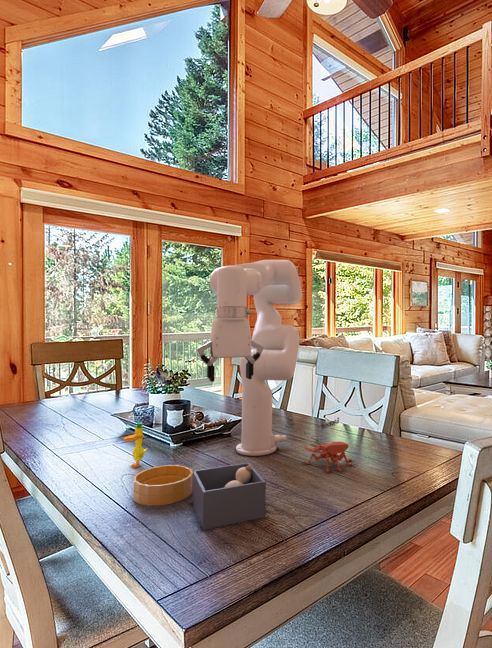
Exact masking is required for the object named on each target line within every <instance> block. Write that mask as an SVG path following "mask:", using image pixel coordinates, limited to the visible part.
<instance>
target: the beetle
mask: <svg viewBox="0 0 492 648" xmlns="http://www.w3.org/2000/svg"><path fill="white" fill-rule="evenodd" d="M339 423H340V417H336V419H335V420H332V421H330V422H325V423H323V424H322V423H321V424H320V427H321V430H324V429H327V428H329V427H332V426H334V425H337V424H339ZM309 446H312V447H313V448H310V447H308V446H306V445H303V448H304V449H305V451H307V452H312V453H311V456H310V459H309V461H308V462H307V460H305V461H304V462H303V463H304V465H310V463H311V461H312V460H313V458H314V459H315V461H320V460H321V459H324V458H325V464H326V469H325V473H330V469H329V465H330V461H331V462H332V464H336V468H337V471H339V472H343V468H340V465H339V464H340V463H339V461H340V462H341V461H342V460H343V459H344V461H345V463H346V465H347V466H351V467H353V465H354V464H353V462H352V461H353V460H352V458H351V457H349V458H347V455H346V451H347V450H348V449H349V447H350V445H349V443H346V442H345V441H332V442H330V443H322V444H319V445H316V444H312V443H309ZM316 453H318V454H319V455H318V456H317V454H316ZM349 462H351V463H349Z"/></svg>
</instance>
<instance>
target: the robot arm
mask: <svg viewBox="0 0 492 648" xmlns="http://www.w3.org/2000/svg"><path fill="white" fill-rule="evenodd" d="M300 280H301V279H300V276H299V273H298V270H297V267H296V265H295V264H294V263H293V262H292V261H291V260H289V259H261V260H257V261H253V262H245V263H240V264H231V265H223V266H220V267H216V268H215V269H214V270H213V271H212V272H211V274H210V277H209V285H210V289H211V290H212V292H213V293H214V294H215V295H216V318H213V319H212V324H211V328H210V329H211V330H210V337H209V338H210V339H209V341H208V342H206V343H203V344H202V345H200V346H198V347H197V348H196V349H195V350H196V352H197V354H198V356H199V359H201V361H202V362H204V363H205V365H206V378H207V379H208V380H209V382H212V383H213V382H214V381H215V365H214V363H215V362H216V361H217V360H218V359H232V358H239V372H240V378H241V433H240V435H241V437H240V439H241V440H240V441H241V442H240V443H239V444H237V445H236V447H235V451H236V452H237V453H238V454H240V455H242V456H249V457H257V456H258V457H259V456H266V455H269V454H272V453H274V452H276V451H277V449H278V448H277V447H278V446H277V444H278V443H283V442H287V441H288V439H287V435H286V434H283V435H281V434H273V391H272V389H271V387H270V385H269V384H268V383H267V381H289V380H291V379H292V378H293V377H294V374H295V371H296V366H297V361H298V360H297V359H298V354H299V349H300V331H299V329H298V328H297V327H295V325H290V324H282V321H283V318H282V315H281V314H280V313H279V311H278V310H277V309H276V307H274V306H273V305H275V304H278V305H293V304H294V305H295V304H298V303H299V302H300V301H301V299H302V295H303V289H302V284H301V281H300ZM247 296H253V303H254V307H255V311H256V316H257V318H256V321H255V325H254V328H253V332H252V331H251V324H250V319H249V318H248V316H249V315H252V314H253V310H252V309H249V308H248V307H247V301H248V299H247ZM208 349H209V354H210V355H209V357H207V356H206V354H205V353H204V352H205V351H206V350H208Z"/></svg>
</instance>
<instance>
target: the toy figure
mask: <svg viewBox="0 0 492 648" xmlns="http://www.w3.org/2000/svg"><path fill="white" fill-rule="evenodd" d="M145 437H146V436H145V435H144V426H143V422H136V426H135V428H134V434H131V435H127V436H124V437H123V439H122V440H123V441H125V442H126V443H130V442H134V443H135V447H134V449H133V450H132V458H133V460H134V462H133V463H132V464H131V467H132V468H133V469H135V468H139V467H141V466H142V465H141V464H140V462H141V461H142V460H143V458H144V456H145V454H146V452H147V450H148V448H143V446H142V444H143V438H145Z"/></svg>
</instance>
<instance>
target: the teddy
mask: <svg viewBox="0 0 492 648" xmlns="http://www.w3.org/2000/svg"><path fill="white" fill-rule="evenodd" d="M251 469H252V468H251V466H250V465H248V466H246V467H242V468H240V469H238V470H237V472H236V480H233V481H230V482H229V483H227V484H226V485H225V487H231V486H237V485H243V484H245V483H247V482H248V481H249V480H250V479H251ZM225 487H224V488H225Z"/></svg>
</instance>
